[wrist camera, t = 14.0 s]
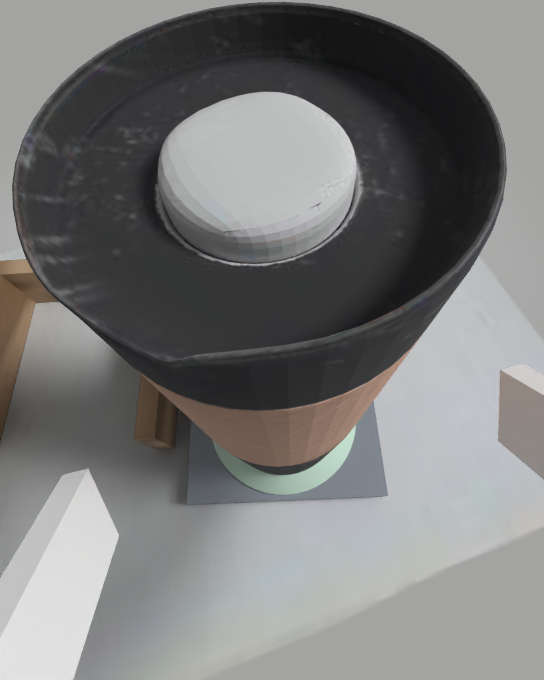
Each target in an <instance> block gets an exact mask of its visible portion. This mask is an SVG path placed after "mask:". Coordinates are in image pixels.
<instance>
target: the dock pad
mask: <svg viewBox="0 0 544 680" xmlns="http://www.w3.org/2000/svg"><path fill="white" fill-rule="evenodd" d="M379 496H388V493H387V486H386V480H385V473H384V467H383V461H382V454H381V448H380V441H379V435H378V428H377V422H376V415H375V409H374V402H372V403H371V405H370V406H369V407H368V409H367V410H366V411H365V413H364V414H363V415H362V417H361V418H360V420H359V421H358V422H357V424H356V425H355V426H354V428H353V429H352V430H351V431H350V433H349V434H348V435H347V436H346V438H345V439H344V440H343V441H342V442H340V443H339V444H338V445H337V446H336V447H335V448H334V449H333V450H332V451H331V452H330V453H329V454H327V455H326V456H325V457H324V458H323V459H322V460H321V461H320V462H318V463H317V464H315V465H314V466H313V467H311V468H309V469H307V470H305V471H302V472H300V473H296V474H291V475H273V474H269V473H265V472H262V471H260V470H257V469H256V468H254V467H252V466H250V465H248V464H247V463H245V462H243V461H242V460H240V459H238V458H237V457H235V456H233V455H232V454H230V453H229V452H227V451H226V450H225V449H223V448H222V447H220V446H219V445H218V444H217V443H216V442H215V441H214V440H212V439H211V438H210V437H209V436H208V435H207V434H206V433H205V432H204V431H203V430H202V429H200V428H199V427H198V426H197V425H196V424H195V423H194V422H193V421H192V420H191V425H190V445H189V465H188V485H187V505H196V504H219V503H242V502H265V501H288V500H310V499H333V498H356V497H379Z"/></svg>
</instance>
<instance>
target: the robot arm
mask: <svg viewBox="0 0 544 680" xmlns="http://www.w3.org/2000/svg"><path fill="white" fill-rule="evenodd" d="M498 441H499V442H500V443H501V444H503V445H504V446H505V447H506V448H507V449H508V450H510V451H511V452H512V453H513V454H514V455H515V456H517V457H518V458H519V459H520V460H521V461H523V462H524V463H525V464H526V465H527V466H528V467H530V468H531V469H532V470H533V471H534V472H535V473H537V474H538V475H539V476H540V477H541V478H543V479H544V375H543V374H541V373H539V372H537V371H535V370H533V369H531V368H529V367H527V366H525V365H523V364H522V365H518V366H514V367H509V368H505V369H501V370H500V395H499V430H498ZM118 537H119V534H118V532H117V530H116V528H115V525H114V523H113V521H112V519H111V517H110V515H109V512H108V510H107V508H106V506H105V504H104V502H103V500H102V497H101V495H100V493H99V491H98V489H97V487H96V484H95V482H94V480H93V478H92V476H91V474H90V471H89V469H84V470H80V471H76V472H72V473H67V474H63V475H62V477H61V478H60V480H59V482H58V483H57V485H56V486H55V488H54V490H53V491H52V493H51V495H50V496H49V498H48V500H47V501H46V503H45V505H44V506H43V508H42V510H41V511H40V513H39V515H38V516H37V518H36V520H35V521H34V523H33V525H32V526H31V528H30V530H29V531H28V533H27V535H26V536H25V538H24V540H23V541H22V543H21V545H20V546H19V548H18V550H17V551H16V553H15V554H14V556H13V558H12V559H11V561H10V563H9V564H8V566H7V568H6V569H5V571H4V573H3V574H2V576H1V578H0V680H73V678H74V675H75V672H76V669H77V666H78V663H79V660H80V656H81V653H82V650H83V647H84V644H85V641H86V638H87V634H88V631H89V628H90V625H91V622H92V619H93V616H94V613H95V609H96V606H97V603H98V600H99V597H100V594H101V591H102V587H103V584H104V581H105V578H106V575H107V572H108V569H109V566H110V562H111V559H112V556H113V553H114V550H115V547H116V544H117V540H118Z"/></svg>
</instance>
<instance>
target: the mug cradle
mask: <svg viewBox="0 0 544 680" xmlns="http://www.w3.org/2000/svg"><path fill="white" fill-rule="evenodd" d="M55 301H58V300H56V299H55V298H54V297H53V296H52V295H51V294H50V293H49V292H48V291H47V290H46V289H45V287H44V286H43V285H42V283H41V282H40V281H39V280H38V278H37V277H36V275H35V274H34V272H33V270H32V269H31V267H30V265H29V263H28V261H27V259H23V260H7V261H0V440H1V436H2V432H3V428H4V424H5V420H6V416H7V412H8V408H9V404H10V400H11V396H12V393H13V389H14V385H15V381H16V377H17V373H18V369H19V365H20V361H21V357H22V353H23V349H24V346H25V342H26V338H27V334H28V330H29V326H30V322H31V318H32V314H33V310H34V306H35V303H38V302H55ZM176 421H177V407H176V406H175V405H174V404H173V403H172V402H171V401H170V400H169V399H168V398H166V397H165V396H164V395H163V394H162V393H161V392H160V391H159V390H158V389H157V388H156V387H154V386H153V385H152V384H151V383H150V382H149V381H148V380H147V379H146V378H145V377H143V376H142V375H141V379H140V388H139V397H138V406H137V415H136V425H135V434H134V440H136V441H139V442H141V443H144V444H146V445H148V446H151V447H153V448H155V449H171V448H175V436H176Z"/></svg>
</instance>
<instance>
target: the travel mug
mask: <svg viewBox="0 0 544 680" xmlns="http://www.w3.org/2000/svg"><path fill="white" fill-rule="evenodd" d="M506 172H507V167H506V151H505V143H504V139H503V136H502V132H501V128H500V124H499V122H498V119H497V117H496V115H495V113H494V111H493V108H492V106H491V104H490V102H489V101H488V99H487V98H486V96H485V95H484V93H483V92H482V90H481V89H480V87H479V86H478V84H477V83H476V82H475V81H474V80H473V79H472V78H471V77H470V75H469V74H468V73H467V72H466V71H465V70H464V69H463V68H462V67H461V66H460V65H459V64H458V63H457V62H455V61H454V60H453V59H452V58H451V57H449V56H448V55H447V54H446V53H444V52H443V51H442V50H440V49H439V48H437V47H436V46H434V45H433V44H431V43H430V42H428V41H427V40H425V39H424V38H422V37H420V36H418V35H416V34H414V33H412V32H410V31H408V30H406V29H404V28H402V27H400V26H397V25H395V24H392V23H390V22H387V21H385V20H382V19H379V18H376V17H373V16H370V15H366V14H363V13H360V12H356V11H351V10H347V9H342V8H337V7H332V6H324V5H316V4H309V3H292V2H259V3H248V4H236V5H229V6H223V7H217V8H211V9H207V10H202V11H198V12H193V13H190V14H185V15H182V16H179V17H176V18H172V19H169V20H166V21H163V22H161V23H158V24H156V25H153V26H150V27H148V28H145V29H143V30H140V31H138V32H136V33H134V34H132V35H130V36H128V37H126V38H125V39H122V40H120V41H118V42H117V43H115V44H113V45H112V46H110V47H108V48H107V49H105V50H104V51H102V52H100V53H98V54H97V55H96V56H95V57H93V58H92V59H91V60H89V61H88V62H86V63H85V64H84V65H82V66H81V67H80V68H78V69H77V70H76V71H75V72H74V73H73V74H72V75H71V76H69V77H68V78H67V79H66V80H65V81H64V82H63V83H62V84H61V85H60V86H59V87H58V88H57V89H56V91H55V92H54V93H53V94H52V95H51V96H50V97H49V98H48V99H47V101H46V102H45V103H44V105H43V106H42V108H41V109H40V111H39V112H38V113H37V115H36V116H35V118H34V119H33V121H32V123H31V125H30V127H29V129H28V131H27V133H26V135H25V137H24V139H23V141H22V144H21V147H20V150H19V153H18V156H17V160H16V163H15V170H14V177H13V185H12V190H13V210H14V216H15V221H16V227H17V232H18V236H19V239H20V242H21V245H22V248H23V251H24V254H25V256H26V259H27V261H28V263H29V265H30V267H31V269H32V270H33V272H34V274H35V275H36V277H37V278H38V280H39V281H40V282H41V283H42V285H43V286H44V287H45V289H46V290H47V291H48V292H49V293H50V294H51V295H52V296H53V297H54V298H55V299H56V300H58V301H59V302H60V303H61V304H63V305H64V306H65V307H66V308H68V309H69V310H70V311H71V312H73V313H74V314H75V315H76V316H78V317H79V318H80V319H81V320H82V321H83V322H84V323H85V324H87V325H88V326H89V327H90V328H91V329H92V330H93V331H94V332H95V333H96V334H97V335H98V336H100V337H101V338H102V339H103V340H104V341H105V342H106V343H107V344H108V345H109V346H111V347H112V348H113V349H114V350H115V351H116V352H117V353H118V354H119V355H120V356H122V357H123V358H124V359H125V360H126V361H127V362H128V363H129V364H130V365H131V366H132V367H134V368H135V369H136V370H137V371H138V372H139V373H140V374H141V375H142V376H143V377H145V378H146V379H147V380H148V381H149V382H150V383H151V384H152V385H153V386H154V387H156V388H157V389H158V390H159V391H160V392H161V393H162V394H163V395H164V396H165V397H166V398H168V399H169V400H170V401H171V402H172V403H173V404H174V405H175V406H176V407H177V408H179V409H180V410H181V411H182V412H183V413H184V414H185V415H186V416H187V417H188V418H189V419H191V420H192V421H193V422H194V423H195V424H196V425H197V426H198V427H199V428H200V429H202V430H203V431H204V432H205V433H206V434H207V435H208V436H209V437H210V438H211V439H212V440H214V441H215V442H216V443H217V444H218V445H219V446H220V447H222V448H223V449H225V450H226V451H227V452H229V453H230V454H232V455H233V456H235V457H237V458H238V459H240V460H242V461H243V462H245V463H247V464H248V465H250V466H252V467H254V468H256V469H257V470H260V471H262V472H265V473H269V474H273V475H291V474H296V473H300V472H302V471H305V470H307V469H309V468H311V467H313V466H314V465H315V464H317V463H318V462H320V461H321V460H322V459H323V458H324V457H325V456H326V455H327V454H329V453H330V452H331V451H332V450H333V449H334V448H335V447H336V446H337V445H338V444H339V443H340V442H342V441H343V440H344V439H345V438H346V436H347V435H348V434H349V433H350V431H351V430H352V429H353V428H354V426H355V425H356V424H357V422H358V421H359V420H360V418H361V417H362V415H363V414H364V413H365V411H366V410H367V409H368V407H369V406H370V405H371V403H372V402H373V401H374V399H375V398H376V397H377V395H378V394H379V392H380V391H381V390H382V388H383V387H384V386H385V384H386V383H387V382H388V380H389V379H390V378H391V376H392V375H393V373H394V372H395V371H396V369H397V368H398V367H399V365H400V364H401V363H402V361H403V360H404V359H405V357H406V356H407V354H408V353H409V352H410V350H411V349H412V348H413V346H414V345H415V344H416V342H417V341H418V340H419V338H420V337H421V336H422V334H423V333H424V331H425V330H426V329H427V327H428V326H429V325H430V323H431V322H432V321H433V319H434V318H435V317H436V315H437V314H438V313H439V311H440V310H441V308H442V307H443V306H444V304H445V303H446V302H447V300H448V299H449V298H450V296H451V295H452V294H453V292H454V291H455V290H456V288H457V287H458V286H459V284H460V283H461V281H462V280H463V279H464V277H465V276H466V275H467V273H468V272H469V271H470V269H471V267H472V266H473V264H474V262H475V261H476V259H477V257H478V256H479V254H480V252H481V250H482V248H483V247H484V245H485V243H486V241H487V239H488V238H489V236H490V234H491V232H492V230H493V227H494V225H495V222H496V219H497V216H498V213H499V210H500V207H501V204H502V201H503V195H504V188H505V181H506Z"/></svg>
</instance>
